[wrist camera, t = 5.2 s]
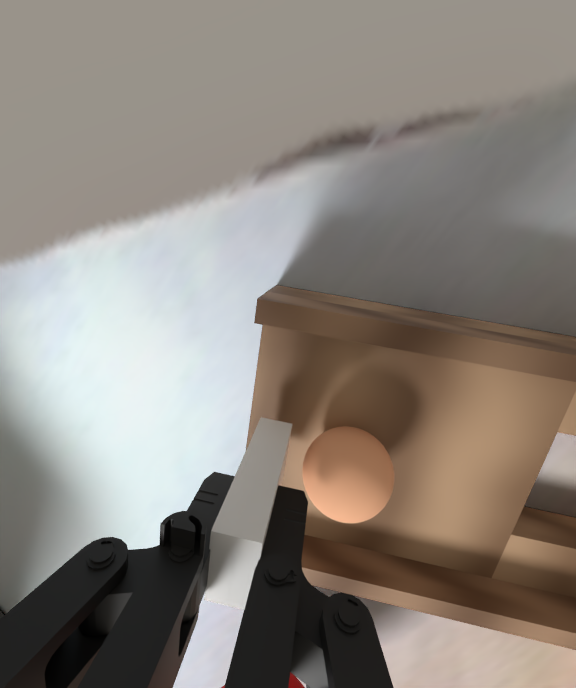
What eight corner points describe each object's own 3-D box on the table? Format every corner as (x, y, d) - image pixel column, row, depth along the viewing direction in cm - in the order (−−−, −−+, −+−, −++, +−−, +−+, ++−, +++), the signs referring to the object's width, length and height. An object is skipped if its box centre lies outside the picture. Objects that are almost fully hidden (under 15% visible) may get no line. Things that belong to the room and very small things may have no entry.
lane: (245, 501, 22) (223, 563, 18) (276, 285, 18) (257, 298, 14) (642, 591, 20) (726, 686, 16) (784, 373, 16) (949, 421, 12)
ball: (300, 471, 18) (290, 533, 14) (313, 403, 17) (306, 451, 13) (376, 488, 18) (387, 556, 14) (396, 419, 16) (414, 474, 13)
